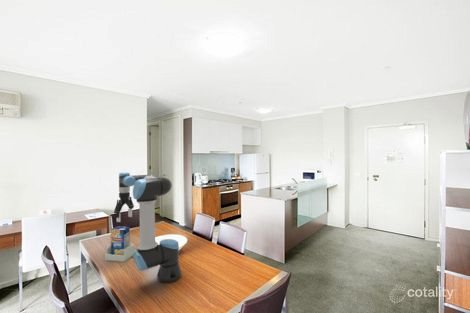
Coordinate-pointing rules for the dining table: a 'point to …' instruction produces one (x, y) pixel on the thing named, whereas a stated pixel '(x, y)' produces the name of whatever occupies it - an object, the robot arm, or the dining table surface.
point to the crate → (119, 258)
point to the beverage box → (119, 240)
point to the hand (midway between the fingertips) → (124, 219)
